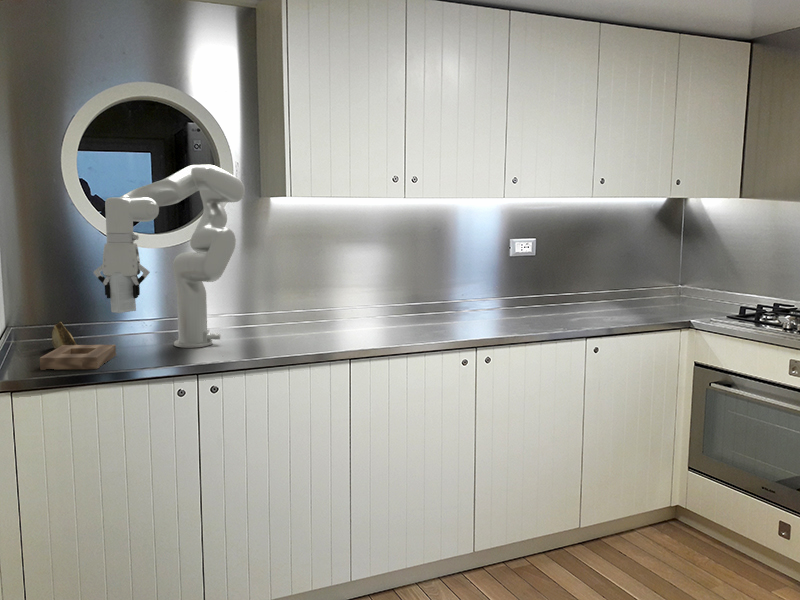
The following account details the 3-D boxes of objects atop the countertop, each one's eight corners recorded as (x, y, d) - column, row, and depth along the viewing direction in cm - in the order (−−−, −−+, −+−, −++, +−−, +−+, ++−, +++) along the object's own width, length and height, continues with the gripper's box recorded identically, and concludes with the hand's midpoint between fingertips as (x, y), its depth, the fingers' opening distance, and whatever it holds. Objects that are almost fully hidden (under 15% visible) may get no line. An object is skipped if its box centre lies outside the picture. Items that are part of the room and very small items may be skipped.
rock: (43, 341, 235) (41, 342, 226) (59, 319, 237) (58, 320, 227) (73, 358, 238) (72, 361, 229) (89, 337, 240) (88, 338, 231)
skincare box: (128, 309, 219) (126, 271, 217) (136, 311, 216) (134, 272, 214) (110, 312, 214) (108, 272, 212) (117, 313, 211) (115, 273, 210)
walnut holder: (115, 355, 225) (115, 344, 224) (97, 368, 207) (96, 357, 207) (63, 356, 223) (62, 345, 223) (40, 369, 206) (39, 357, 205)
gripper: (153, 238, 217) (155, 296, 219) (93, 238, 215) (96, 296, 217) (147, 239, 209) (149, 299, 212) (85, 239, 207) (88, 299, 210)
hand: (122, 297), depth 214 cm, fingers closed on skincare box, 7 cm apart
